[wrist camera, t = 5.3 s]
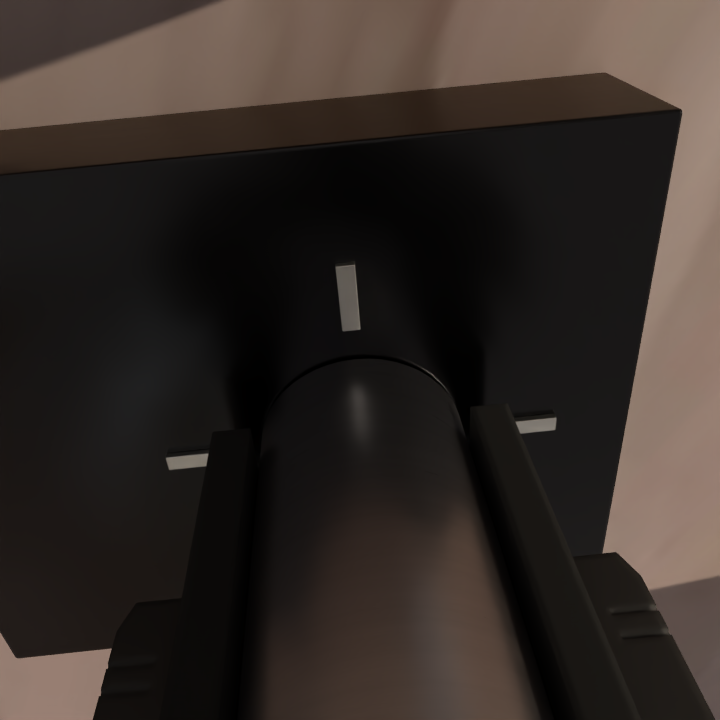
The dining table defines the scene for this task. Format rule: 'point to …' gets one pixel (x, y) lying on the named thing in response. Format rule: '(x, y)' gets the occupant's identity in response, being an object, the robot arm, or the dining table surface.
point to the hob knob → (378, 562)
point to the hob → (304, 305)
